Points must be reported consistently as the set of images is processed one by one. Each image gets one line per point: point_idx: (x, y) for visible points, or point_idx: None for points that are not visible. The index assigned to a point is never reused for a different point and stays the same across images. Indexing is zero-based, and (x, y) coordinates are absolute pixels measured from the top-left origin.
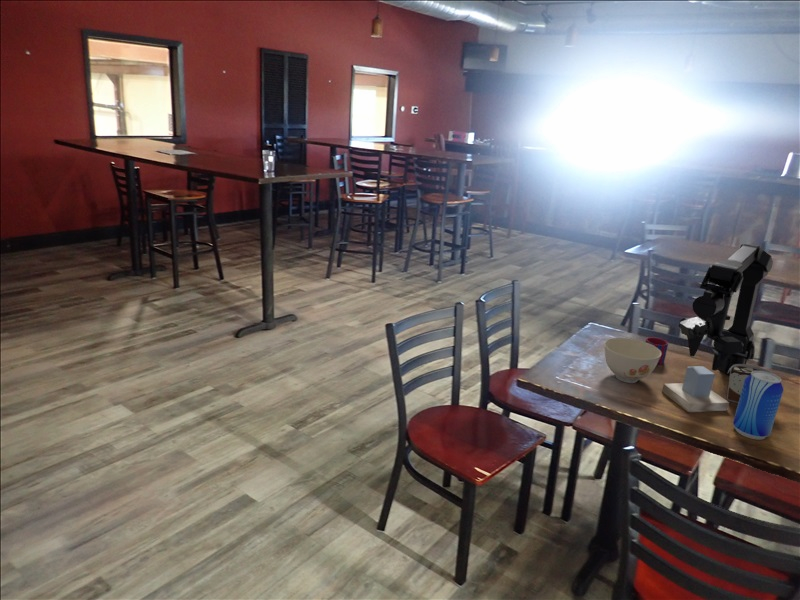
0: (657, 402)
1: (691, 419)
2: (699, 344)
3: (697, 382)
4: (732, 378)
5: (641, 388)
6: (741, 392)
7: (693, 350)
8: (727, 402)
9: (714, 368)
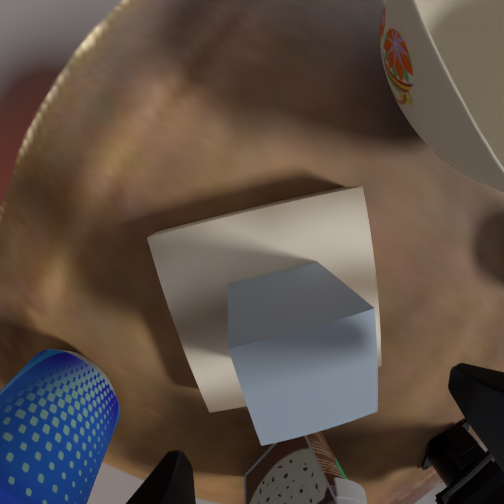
0: (232, 121)
1: (101, 221)
2: (500, 461)
3: (228, 322)
4: (317, 477)
5: (359, 106)
6: (16, 436)
7: (480, 403)
8: (208, 407)
9: (161, 468)
